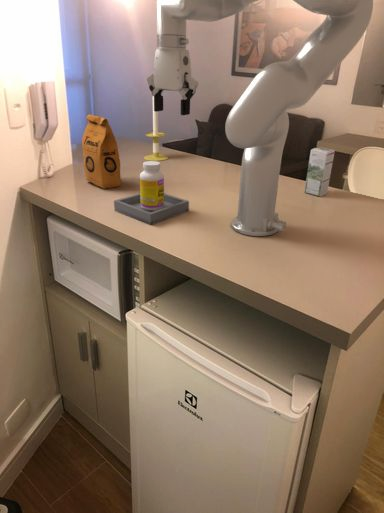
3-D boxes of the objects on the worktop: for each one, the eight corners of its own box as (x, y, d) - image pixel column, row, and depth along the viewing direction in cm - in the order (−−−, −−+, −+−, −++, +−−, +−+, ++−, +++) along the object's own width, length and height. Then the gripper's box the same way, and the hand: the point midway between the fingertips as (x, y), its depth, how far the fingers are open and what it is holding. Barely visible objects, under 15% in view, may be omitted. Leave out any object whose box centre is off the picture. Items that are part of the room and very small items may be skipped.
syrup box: (327, 193, 138) (335, 149, 132) (319, 197, 134) (327, 152, 128) (312, 189, 142) (319, 146, 135) (303, 193, 138) (310, 149, 131)
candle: (158, 154, 181) (157, 87, 169) (172, 158, 175) (173, 90, 162) (139, 157, 175) (137, 88, 163) (154, 162, 169) (152, 91, 156)
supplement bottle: (160, 212, 115) (159, 167, 110) (137, 210, 117) (135, 165, 111) (166, 204, 121) (166, 161, 116) (144, 202, 122) (143, 159, 117)
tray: (188, 210, 120) (188, 201, 119) (150, 225, 110) (150, 214, 109) (152, 198, 129) (152, 189, 128) (114, 210, 119) (113, 200, 118)
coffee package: (99, 191, 134) (93, 120, 124) (82, 181, 143) (75, 114, 133) (125, 186, 140) (122, 117, 130) (108, 177, 148) (103, 112, 138)
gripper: (207, 44, 105) (204, 114, 113) (156, 43, 115) (157, 108, 122) (188, 43, 100) (187, 117, 108) (137, 42, 109) (139, 111, 117)
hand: (171, 112), depth 115 cm, fingers open, 9 cm apart
